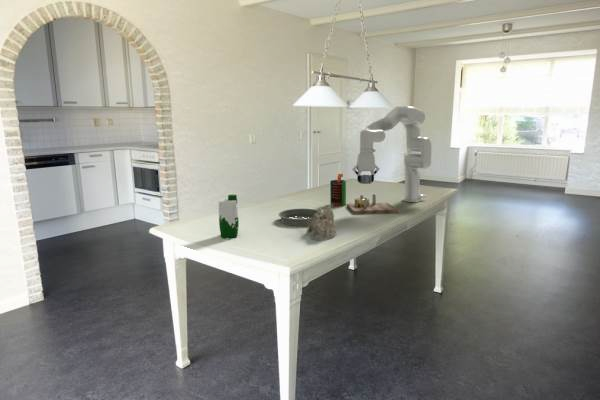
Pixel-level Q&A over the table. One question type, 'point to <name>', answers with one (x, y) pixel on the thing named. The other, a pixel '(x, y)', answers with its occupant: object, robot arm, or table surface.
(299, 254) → the table surface
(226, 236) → the milk carton
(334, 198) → the motor
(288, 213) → the cake pan
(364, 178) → the steel gear
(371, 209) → the board
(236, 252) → the table surface
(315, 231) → the grey rough lump
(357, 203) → the brass gear
